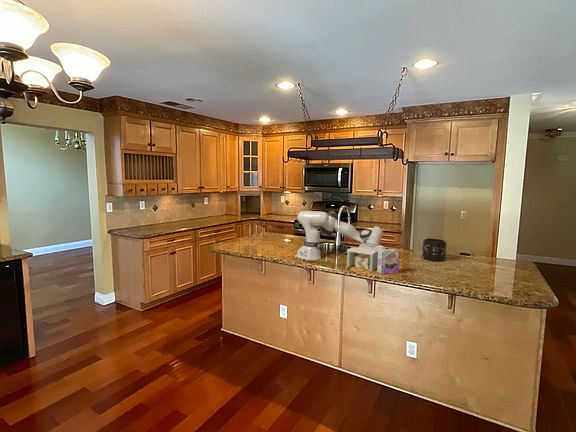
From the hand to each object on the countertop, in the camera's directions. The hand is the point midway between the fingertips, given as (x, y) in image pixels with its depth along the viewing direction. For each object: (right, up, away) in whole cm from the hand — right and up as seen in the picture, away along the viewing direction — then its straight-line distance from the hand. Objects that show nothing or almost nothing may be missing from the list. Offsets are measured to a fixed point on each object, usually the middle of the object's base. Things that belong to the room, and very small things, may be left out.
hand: (367, 259), depth 259 cm
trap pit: (-10, -6, -13) cm, 18 cm away
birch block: (-4, -5, -4) cm, 7 cm away
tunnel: (-6, -5, -7) cm, 10 cm away
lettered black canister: (+58, -2, +18) cm, 61 cm away
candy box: (+10, -7, -19) cm, 23 cm away
